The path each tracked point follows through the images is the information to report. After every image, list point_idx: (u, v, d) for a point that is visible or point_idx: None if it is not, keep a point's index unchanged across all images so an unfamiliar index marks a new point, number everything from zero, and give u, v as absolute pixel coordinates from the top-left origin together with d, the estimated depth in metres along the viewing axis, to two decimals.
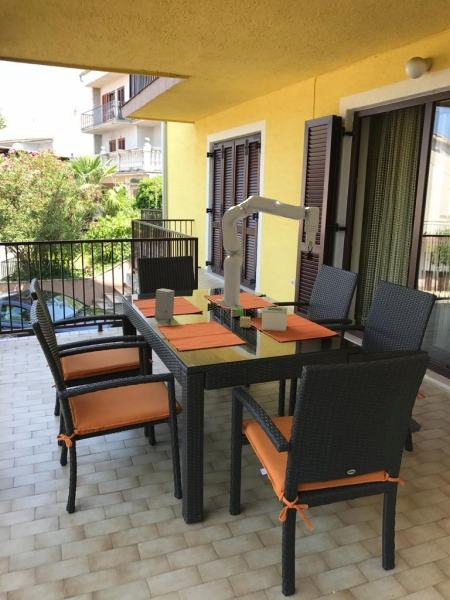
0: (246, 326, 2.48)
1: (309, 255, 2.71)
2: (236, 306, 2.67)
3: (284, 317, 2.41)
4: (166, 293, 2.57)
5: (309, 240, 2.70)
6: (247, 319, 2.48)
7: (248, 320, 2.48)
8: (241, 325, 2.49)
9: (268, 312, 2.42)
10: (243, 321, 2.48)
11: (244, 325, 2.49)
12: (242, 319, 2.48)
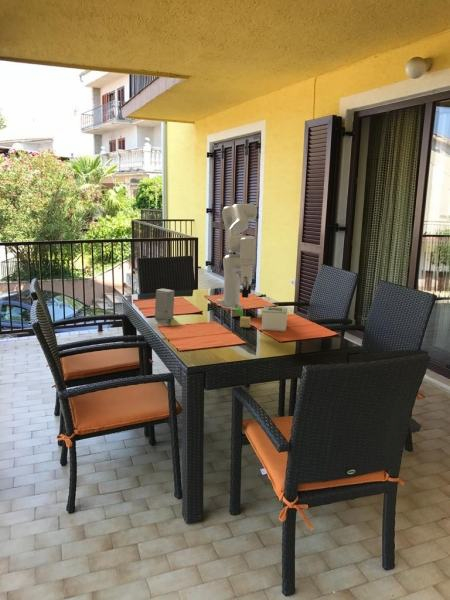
0: (246, 326, 2.48)
1: (244, 292, 2.40)
2: (236, 306, 2.67)
3: (284, 317, 2.41)
4: (166, 293, 2.57)
5: (244, 275, 2.40)
6: (247, 319, 2.48)
7: (248, 320, 2.48)
8: (241, 325, 2.49)
9: (268, 312, 2.42)
10: (243, 321, 2.48)
11: (244, 325, 2.49)
12: (242, 319, 2.48)
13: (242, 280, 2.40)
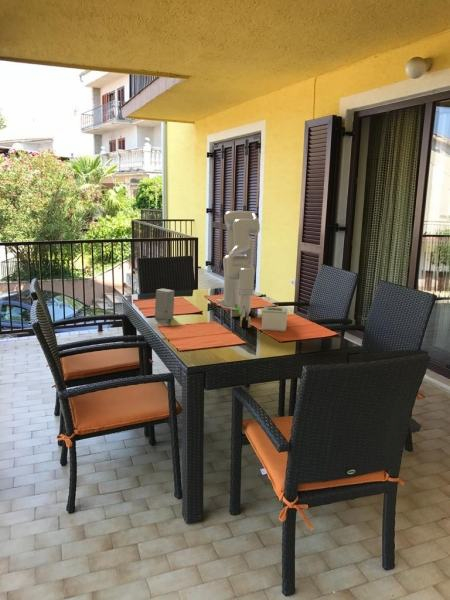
0: None
1: (244, 322, 2.47)
2: (236, 306, 2.67)
3: (284, 317, 2.41)
4: (166, 293, 2.57)
5: (242, 307, 2.43)
6: (247, 319, 2.48)
7: (248, 320, 2.48)
8: (241, 325, 2.49)
9: (268, 312, 2.42)
10: None
11: None
12: None
13: (241, 310, 2.43)
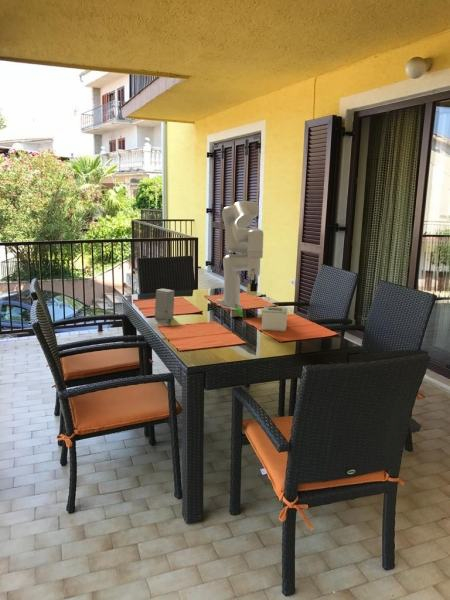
0: (253, 294, 2.44)
1: (252, 286, 2.42)
2: (236, 306, 2.67)
3: (284, 317, 2.41)
4: (166, 293, 2.57)
5: (251, 270, 2.38)
6: None
7: None
8: (248, 292, 2.45)
9: (268, 312, 2.42)
10: None
11: (251, 292, 2.44)
12: (249, 286, 2.44)
13: (250, 272, 2.39)
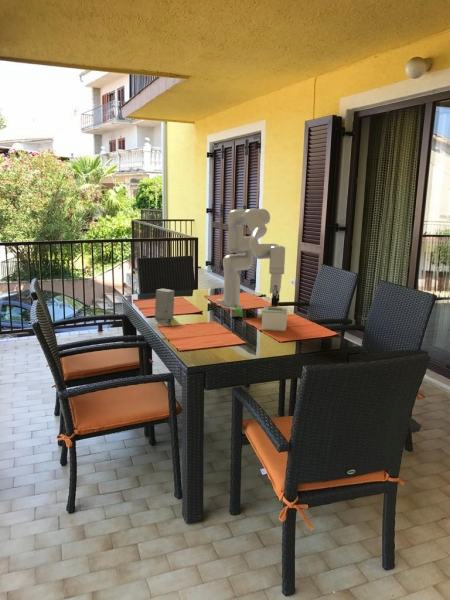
0: None
1: (274, 300, 2.40)
2: (235, 306, 2.67)
3: (284, 317, 2.41)
4: (166, 293, 2.57)
5: (274, 284, 2.39)
6: None
7: None
8: None
9: (268, 312, 2.42)
10: None
11: None
12: None
13: (272, 289, 2.39)
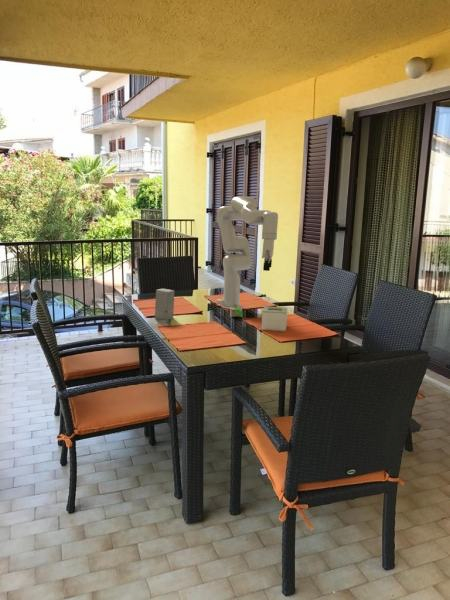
0: None
1: (266, 265, 2.48)
2: (235, 306, 2.67)
3: (284, 317, 2.41)
4: (166, 293, 2.57)
5: (266, 249, 2.46)
6: None
7: None
8: None
9: (268, 312, 2.42)
10: None
11: None
12: None
13: (264, 254, 2.47)
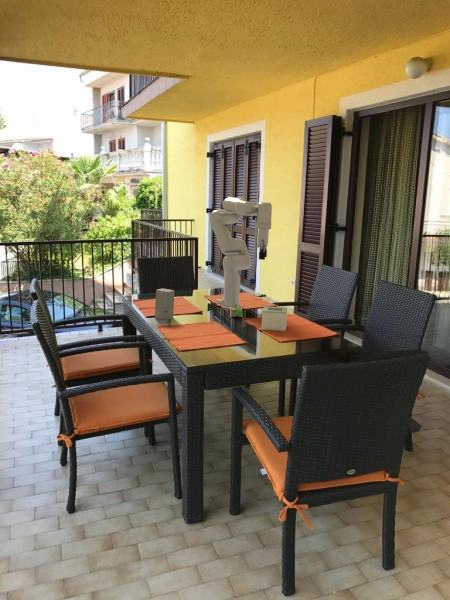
0: None
1: (261, 254, 2.54)
2: (235, 306, 2.67)
3: (284, 317, 2.41)
4: (166, 293, 2.57)
5: (261, 238, 2.53)
6: None
7: None
8: None
9: (268, 312, 2.42)
10: None
11: None
12: None
13: (259, 243, 2.54)
